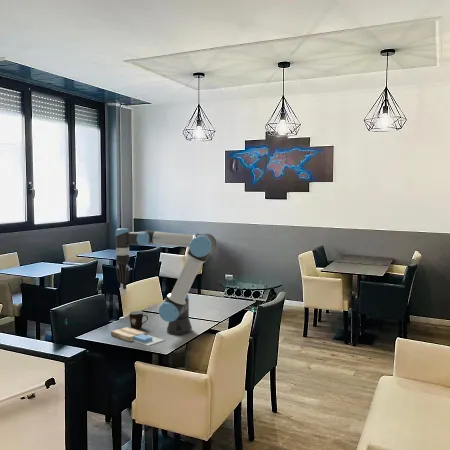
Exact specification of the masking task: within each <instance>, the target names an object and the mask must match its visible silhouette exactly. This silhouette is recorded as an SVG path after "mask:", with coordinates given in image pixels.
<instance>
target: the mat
mask: <svg viewBox="0 0 450 450" xmlns="http://www.w3.org/2000/svg"><path fill="white" fill-rule="evenodd" d="M147 336H150V337H152V341H150V342H146V343H142V342H139V341H135V340H132V341H131V342H134V343H138V344H140V345H144V346H147V347H149V346H152V345H156V344H160V343H162V342H164V341H165V339H163V338H159V337H155V336H152V335H149V334H148V335H147Z"/></svg>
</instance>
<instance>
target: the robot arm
mask: <svg viewBox="0 0 450 450" xmlns="http://www.w3.org/2000/svg"><path fill="white" fill-rule="evenodd" d="M148 244H153V245H155V244H157V245H163V246H164V245H165V246H174V247H182V248H183V247H184V248H189V249H188V251H187V257H188V258H187V259H186V261H185V262H184V266H183V268H182V269H181V271H180V274H179V276H178V278H177V280H176V282H175V284H174V286H173V289H172V290H171V292H170V293H168V294H167V295H166V297H165V300H164V301H163V302H162V303H161V304H160V306H159V307H158V314H159V316H160V318H161V320H163V321H164V322H168V324H167V327H166V333H168V334H170V335H173V336H175V335H176V336H179V335H186V334H190V333H192V331H193V327H192V324H191V321H190V316H189V315H190V309H189V308H190V307H189V306H190V302H189V301H190V299H189V295H188V293H189V292H190V290H191V287H192V285H193V283H194V281H195V278H196V276H197V275H198V273H199V270H200V269H201V266H202V265H203V264H204V263H206V262H207V260H208V259H209V256H210V254H212V253H213V252H214V251H215V250H216V248H217V244H218V243H217V240H216V238H215V237H214V236H213V235H212V234H211V233H195V234H186V233H176V232H175V233H174V232H166V231H165V232H164V231H157V230H156V231H155V230H151V229H149V230H147V229H145V230H142V231H129V228H123V227H121V228H116V230H115V250H116V251H115V252H116V253H115V255H116V259H115V260H116V262H117V265H115V266H114V268H115V271H116V277H117V282H118V283H119V285H120V295H121V296H123V295H126V294H127V283H129V282H130V274H131V269H132V267H131V266H130V265H129V261H130V246H146V245H148Z"/></svg>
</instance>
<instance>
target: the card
mask: <svg viewBox="0 0 450 450" xmlns="http://www.w3.org/2000/svg"><path fill="white" fill-rule="evenodd" d="M150 336H151V335H150ZM150 336H148V335H147V334H146V335H144V334H141V335H137V336H134V340H135V341H139V342H142V343H146V342H150V341H152V337H150Z"/></svg>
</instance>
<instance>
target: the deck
mask: <svg viewBox="0 0 450 450" xmlns="http://www.w3.org/2000/svg"><path fill="white" fill-rule="evenodd" d="M141 334H144V335H147V332H146V331H142V330H140V329H138V330H136V329H133V328H131V327H129V326H126V327H121V328H119V329H114V330H111V331H110V336H111V335H113V336H112V337H114V336H115V337H114V338H117V337H118V338H117V339H120V340H123V341H127V342H129V343H130V342H133V341H132V340H134V336H137V335H141Z"/></svg>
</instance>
